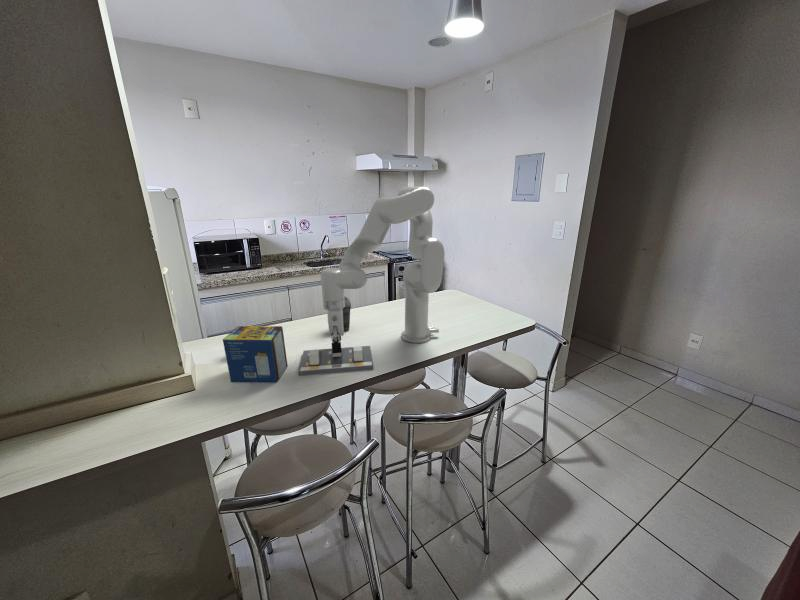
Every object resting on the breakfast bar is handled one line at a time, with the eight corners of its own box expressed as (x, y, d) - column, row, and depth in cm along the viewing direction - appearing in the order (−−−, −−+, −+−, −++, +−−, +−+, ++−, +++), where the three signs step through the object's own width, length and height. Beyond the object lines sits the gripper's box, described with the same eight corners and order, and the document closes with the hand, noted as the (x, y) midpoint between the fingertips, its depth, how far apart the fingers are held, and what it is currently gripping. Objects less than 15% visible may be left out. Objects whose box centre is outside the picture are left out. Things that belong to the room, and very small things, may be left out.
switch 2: (362, 356, 117) (361, 346, 116) (362, 360, 114) (362, 350, 113) (353, 357, 117) (353, 347, 116) (354, 361, 114) (353, 351, 113)
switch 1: (319, 360, 115) (318, 349, 114) (319, 364, 112) (318, 354, 111) (310, 360, 114) (309, 350, 113) (310, 365, 112) (309, 354, 110)
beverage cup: (349, 334, 140) (346, 289, 133) (333, 332, 141) (330, 288, 135) (354, 327, 146) (352, 284, 140) (339, 326, 148) (336, 283, 141)
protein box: (244, 366, 115) (237, 325, 110) (288, 366, 115) (283, 325, 110) (229, 383, 105) (221, 339, 100) (277, 383, 105) (271, 339, 100)
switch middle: (341, 352, 120) (340, 342, 119) (341, 356, 117) (340, 346, 116) (332, 353, 120) (332, 343, 118) (332, 357, 117) (332, 347, 116)
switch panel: (370, 349, 127) (370, 345, 126) (373, 369, 113) (373, 364, 112) (304, 354, 123) (303, 349, 122) (299, 375, 109) (298, 370, 108)
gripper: (345, 311, 108) (347, 356, 113) (344, 295, 124) (346, 335, 129) (321, 312, 106) (325, 358, 112) (324, 296, 123) (327, 337, 128)
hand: (337, 346), depth 121 cm, fingers open, 9 cm apart
